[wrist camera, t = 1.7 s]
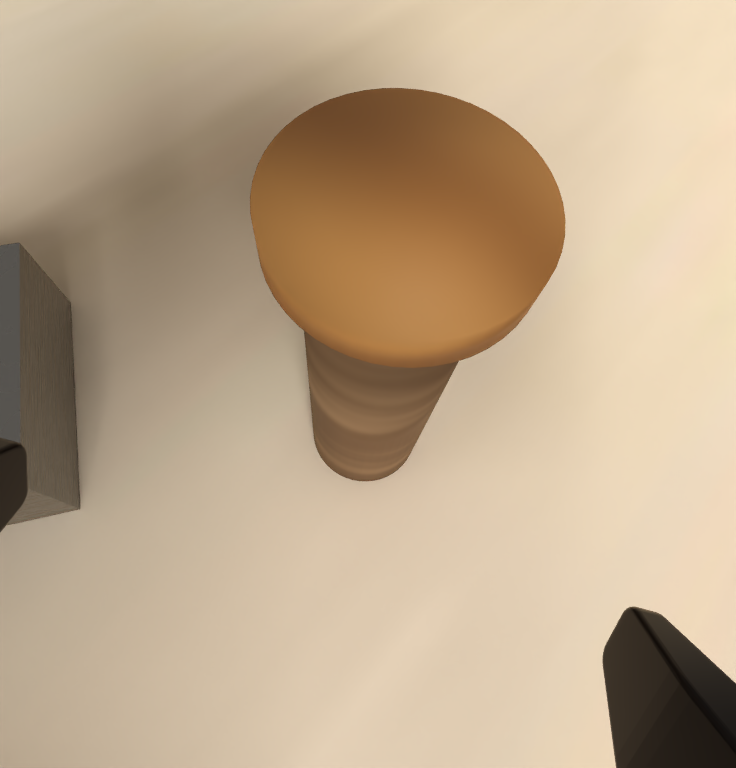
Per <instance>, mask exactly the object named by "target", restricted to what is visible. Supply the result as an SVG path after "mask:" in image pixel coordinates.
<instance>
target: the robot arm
mask: <svg viewBox="0 0 736 768" xmlns="http://www.w3.org/2000/svg"><path fill="white" fill-rule="evenodd" d="M27 492H28V472H27V451H26V449H25V447H24V446H23V445H22V444H21V443H18V442H15V441H11V440H7V439H3V438H0V532H1V531H2V530H3V528H4V527H5V526H6V525H7V524H8V522H9V521H10V520H11V519H12V518H13V516H14V515H15V514H16V513H17V511H18V510H19V509H20V508H21V506H22V505H23V503H24V501H25V499H26V497H27ZM603 670H604V678H605V685H606V693H607V701H608V709H609V716H610V724H611V732H612V739H613V747H614V755H615V762H616V768H736V683H735V682H734V681H732V680H731V679H730V678H729V677H728V676H727V675H726V674H725V673H724V672H723V671H722V670H721V669H720V668H718V667H717V666H716V665H715V664H714V663H713V662H712V661H711V660H710V659H709V658H708V657H707V656H706V655H704V654H703V653H702V652H701V651H700V650H699V649H698V648H697V647H696V646H695V645H694V644H693V643H692V642H690V641H689V640H688V639H687V638H686V637H685V636H684V635H683V634H682V633H681V632H680V631H679V630H678V629H676V628H675V627H674V626H673V625H672V624H671V623H670V622H669V621H668V620H667V619H666V618H665V617H663V616H662V615H661V614H659V613H657V612H653V611H650V610H646V609H642V608H638V607H629V608H627V609H626V610H625V611H624V612H623V614H622V616H621V618H620V619H619V621H618V623H617V625H616V627H615V629H614V630H613V632H612V634H611V636H610V638H609V640H608V642H607V643H606V646H605V648H604V652H603Z"/></svg>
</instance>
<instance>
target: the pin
mask: <svg viewBox="0 0 736 768" xmlns="http://www.w3.org/2000/svg"><path fill="white" fill-rule="evenodd" d="M250 213H251V219H252V224H253V230H254V235H255V240H256V245H257V250H258V254H259V259H260V264H261V268H262V271H263V274H264V277H265V280H266V282H267V284H268V286H269V288H270V290H271V292H272V294H273V296H274V297H275V299H276V300H277V302H278V303H279V304H280V306H281V307H282V308H283V310H284V311H285V312H286V314H287V315H288V316H289V317H290V318H291V319H292V320H293V321H294V322H295V323H296V324H297V325H298V326H299V327H300V328H302V329H303V330H304V334H305V345H306V356H307V367H308V377H309V388H310V399H311V410H312V421H313V431H314V440H315V445H316V448H317V450H318V452H319V454H320V456H321V458H322V459H323V461H324V462H325V463H326V464H327V465H328V466H329V467H330V468H331V469H332V470H333V471H335V472H336V473H338V474H339V475H341V476H343V477H346V478H349V479H352V480H357V481H374V480H378V479H382V478H384V477H387V476H389V475H391V474H392V473H394V472H395V471H397V470H398V469H399V468H400V467H401V466H402V465H403V464H404V463H405V461H406V460H407V458H408V457H409V455H410V453H411V451H412V449H413V447H414V445H415V444H416V442H417V440H418V438H419V436H420V434H421V432H422V430H423V428H424V426H425V424H426V423H427V421H428V419H429V417H430V415H431V413H432V411H433V409H434V407H435V405H436V403H437V402H438V400H439V398H440V396H441V394H442V392H443V390H444V388H445V386H446V384H447V382H448V381H449V379H450V377H451V375H452V373H453V371H454V369H455V367H456V365H457V363H458V361H459V360H463V359H466V358H469V357H471V356H474V355H476V354H478V353H480V352H482V351H484V350H486V349H488V348H490V347H491V346H493V345H494V344H496V343H497V342H499V341H500V340H502V339H503V338H504V337H505V336H506V335H507V334H509V333H510V332H511V331H512V330H513V329H514V328H515V327H516V326H517V325H518V324H519V322H520V321H521V320H522V319H523V317H524V316H525V315H526V314H527V312H528V311H529V309H530V308H531V306H532V305H533V303H534V302H535V300H536V299H537V297H538V296H539V294H540V293H541V291H542V290H543V288H544V287H545V285H546V284H547V282H548V281H549V279H550V277H551V275H552V274H553V272H554V270H555V269H556V266H557V264H558V261H559V258H560V256H561V253H562V249H563V243H564V238H565V214H564V207H563V201H562V198H561V195H560V191H559V188H558V186H557V184H556V181H555V179H554V177H553V175H552V173H551V171H550V169H549V168H548V166H547V165H546V163H545V162H544V160H543V158H542V157H541V156H540V155H539V154H538V152H537V151H536V150H535V149H534V148H533V146H532V145H531V144H530V143H529V142H528V141H527V140H526V139H525V138H524V137H523V136H522V135H521V134H519V133H518V132H517V131H516V130H515V129H513V128H512V127H511V126H509V125H508V124H507V123H505V122H504V121H502V120H501V119H499V118H498V117H496V116H494V115H493V114H491V113H489V112H487V111H485V110H483V109H481V108H479V107H477V106H475V105H473V104H471V103H468V102H465V101H463V100H460V99H457V98H454V97H451V96H447V95H443V94H440V93H435V92H429V91H424V90H416V89H404V88H382V89H373V90H364V91H359V92H354V93H350V94H346V95H342V96H339V97H336V98H333V99H330V100H328V101H326V102H323V103H321V104H319V105H317V106H314V107H313V108H311V109H309V110H308V111H306V112H304V113H303V114H301V115H299V116H298V117H297V118H295V119H294V120H293V121H292V122H290V123H289V124H288V125H286V126H285V127H284V128H283V129H282V131H281V132H280V133H279V134H278V135H277V136H276V137H275V138H274V139H273V141H272V142H271V143H270V145H269V146H268V147H267V149H266V150H265V152H264V154H263V156H262V158H261V160H260V162H259V163H258V166H257V169H256V172H255V175H254V178H253V181H252V188H251V195H250Z"/></svg>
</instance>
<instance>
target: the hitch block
mask: <svg viewBox="0 0 736 768" xmlns="http://www.w3.org/2000/svg"><path fill="white" fill-rule="evenodd" d="M0 438H3V439H7V440H11V441H15V442H18V443H21V444H22V445H23V446H24V447H25V449H26V451H27V472H28V492H27V497H26V499H25V501H24V503H23V505H22V506H21V508H20V509H19V510H18V511H17V513H16V514H15V515H14V516H13V518H12V519H11V520H10V521H9V522H8V524H7V525H10V524H15V523H19V522H24V521H28V520H33V519H37V518H42V517H46V516H51V515H55V514H60V513H64V512H69V511H73V510H78V509H80V500H79V478H78V456H77V434H76V412H75V391H74V369H73V347H72V325H71V303H70V302H69V300H68V299H67V298H66V297H65V296H64V295H63V293H62V292H61V291H60V290H59V289H58V287H57V286H56V285H55V284H54V283H53V282H52V280H51V279H50V278H49V277H48V276H47V275H46V273H45V272H44V271H43V270H42V269H41V268H40V266H39V265H38V264H37V263H36V262H35V260H34V259H33V258H32V257H31V256H30V255H29V253H28V252H27V251H26V250H25V249H24V248H23V246H22V245H21V244H20V243H15V244H8V245H1V246H0Z"/></svg>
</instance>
